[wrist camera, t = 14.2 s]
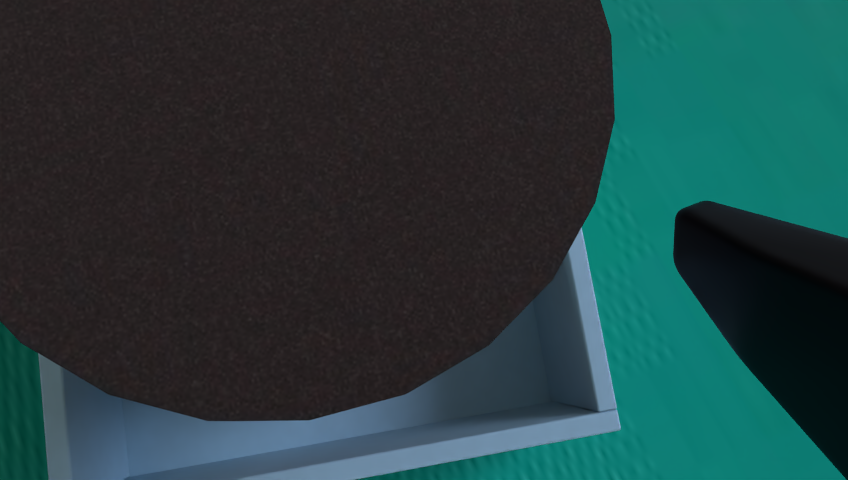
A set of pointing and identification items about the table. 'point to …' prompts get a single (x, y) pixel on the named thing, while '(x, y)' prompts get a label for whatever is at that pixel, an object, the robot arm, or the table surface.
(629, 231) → the table surface
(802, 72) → the table surface
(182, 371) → the deodorant
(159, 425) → the grey open box
